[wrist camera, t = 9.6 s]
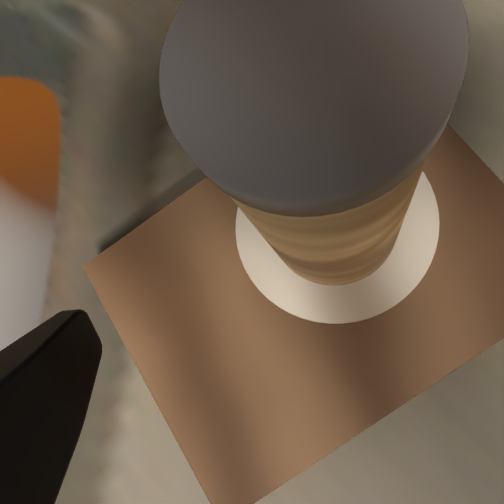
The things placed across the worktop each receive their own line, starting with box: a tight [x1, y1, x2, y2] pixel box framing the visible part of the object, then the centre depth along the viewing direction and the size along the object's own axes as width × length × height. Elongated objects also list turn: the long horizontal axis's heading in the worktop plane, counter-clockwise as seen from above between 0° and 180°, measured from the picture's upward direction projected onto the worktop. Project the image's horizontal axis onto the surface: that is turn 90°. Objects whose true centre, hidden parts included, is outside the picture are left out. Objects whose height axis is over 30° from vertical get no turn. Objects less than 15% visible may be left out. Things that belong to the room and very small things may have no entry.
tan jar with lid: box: [159, 0, 469, 286], centre depth 13 cm, size 5×5×11 cm
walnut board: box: [83, 124, 504, 504], centre depth 19 cm, size 16×12×2 cm
